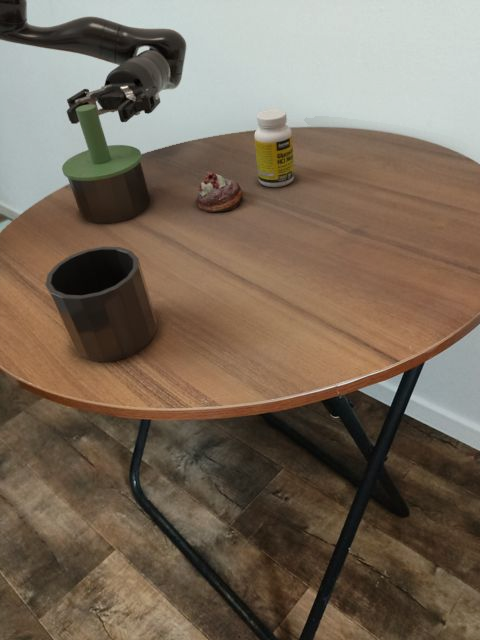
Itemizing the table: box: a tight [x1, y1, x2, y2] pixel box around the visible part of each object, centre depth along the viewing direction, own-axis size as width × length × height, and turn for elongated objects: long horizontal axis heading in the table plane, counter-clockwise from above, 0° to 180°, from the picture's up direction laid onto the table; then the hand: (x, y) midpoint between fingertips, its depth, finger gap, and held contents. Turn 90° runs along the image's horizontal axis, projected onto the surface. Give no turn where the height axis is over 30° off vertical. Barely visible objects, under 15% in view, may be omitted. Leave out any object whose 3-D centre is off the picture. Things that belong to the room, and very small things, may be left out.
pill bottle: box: [253, 109, 295, 188], centre depth 86 cm, size 6×6×11 cm
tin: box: [67, 161, 151, 225], centre depth 86 cm, size 12×12×8 cm
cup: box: [45, 246, 158, 363], centre depth 60 cm, size 10×10×9 cm
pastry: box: [196, 171, 244, 213], centre depth 84 cm, size 8×8×5 cm
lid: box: [61, 104, 143, 181], centre depth 81 cm, size 13×13×9 cm
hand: (95, 116), depth 80 cm, fingers open, 8 cm apart
